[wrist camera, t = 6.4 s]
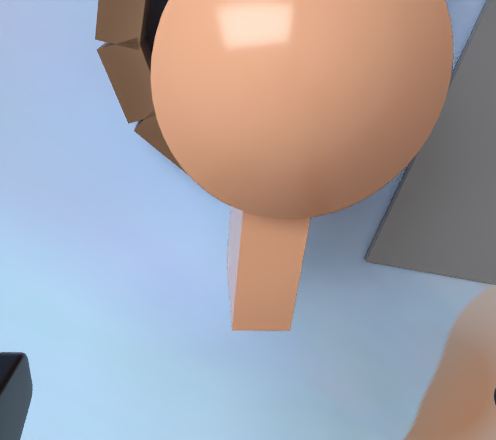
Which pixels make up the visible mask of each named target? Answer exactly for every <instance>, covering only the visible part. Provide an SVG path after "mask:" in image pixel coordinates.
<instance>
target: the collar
mask: <svg viewBox="0 0 496 440" xmlns="http://www.w3.org/2000/svg"><path fill="white" fill-rule="evenodd" d="M150 3H151V0H99V2H98V13H97V24H96V36H95V39H96V40H100V41H104V42H106V43H104V44H103V45H102V46H101V47H100V48H99V49H97V51H98V53H99V56H100V58H101V60H102V63H103V65H104V67H105V70H106V72H107V74H108V77H109V79H110V81H111V84H112V86H113V89H114V91H115V93H116V96H117V98H118V100H119V103H120V105H121V107H122V110H123V112H124V114H125V117H126V119H127V121H128V123H132V122H135V121H138V123H137V125H136V128H135V130H134V131H135V132H136V133H137V134H139V135H140V136H141V137H142V138H143V139H145V140H146V141H147V142H148V143H150V144H151V145H152V146H153V147H155V148H156V149H157V150H158V151H159V152H161V153H162V154H163V155H164V156H166V157H167V158H168V159H169V160H171V161H172V162H173V163H174V164H175V165H177V166H178V167H179V168H180V169H182V170H183V171H184V169H183V168H182V167H181V166H180V164H179V163H178V161H177V160H176V158H175V157H174V156H173V154H172V153H171V151H170V149H169V147H168V145H167V143H166V141H165V139H164V137H163V135H162V132H161V129H160V126H159V124H158V121H157V118H156V113H155V109H154V104H153V100H152V90H151V57H152V51H151V48H150V45H149V42H148V40H147V37H146V32H147V25H148V17H149V10H150ZM184 172H185V171H184ZM185 173H186V172H185Z"/></svg>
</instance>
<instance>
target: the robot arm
mask: <svg viewBox="0 0 496 440" xmlns="http://www.w3.org/2000/svg"><path fill="white" fill-rule="evenodd" d="M31 397H32V380H31V374H30V368H29V362H28V358H27V356H26V354H25V353H22V352H1V353H0V440H20V438H21V434H22V431H23V427H24V423H25V420H26V416H27V413H28V409H29V405H30V402H31ZM494 400H495V404H496V389H495V391H494Z"/></svg>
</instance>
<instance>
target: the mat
mask: <svg viewBox="0 0 496 440" xmlns="http://www.w3.org/2000/svg"><path fill="white" fill-rule="evenodd" d="M364 259H365V261H366V262H371V263H376V264H382V265H388V266H393V267H399V268H405V269H410V270H416V271H422V272H427V273H433V274H439V275H444V276H450V277H455V278H461V279H467V280H472V281H478V282H484V283H489V284H495V285H496V1H495V0H487V1H486V3H485V5H484V7H483V9H482V12H481V14H480V16H479V18H478V20H477V22H476V24H475V26H474V28H473V30H472V33H471V35H470V37H469V39H468V41H467V43H466V45H465V47H464V49H463V52H462V54H461V56H460V58H459V60H458V62H457V64H456V66H455V68H454V70H453V73H452V75H451V79H450V83H449V87H448V91H447V95H446V99H445V102H444V104H443V107H442V110H441V112H440V115H439V118H438V120H437V122H436V124H435V126H434V127H433V129H432V131H431V133H430V135H429V137H428V138H427V140H426V141H425V143H424V144H423V146H422V147H421V149H420V150H419V152H418V153H417V154H416V155H415V157H414V158H413V159H412V160H411V161H410V163H409V165H408V167H407V169H406V172H405V174H404V176H403V178H402V180H401V182H400V184H399V186H398V188H397V191H396V193H395V195H394V197H393V199H392V201H391V203H390V205H389V207H388V209H387V212H386V214H385V216H384V218H383V220H382V222H381V224H380V226H379V228H378V231H377V233H376V235H375V237H374V239H373V241H372V243H371V245H370V247H369V250H368V252H367V254H366V256H365V258H364Z"/></svg>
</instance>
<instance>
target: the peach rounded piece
mask: <svg viewBox="0 0 496 440" xmlns="http://www.w3.org/2000/svg"><path fill="white" fill-rule="evenodd" d="M452 63H453V35H452V27H451V20H450V15H449V12H448V8H447V4H446V0H168V2H167V4H166V6H165V9H164V11H163V13H162V16H161V19H160V22H159V25H158V28H157V31H156V35H155V40H154V45H153V51H152V57H151V90H152V100H153V104H154V109H155V113H156V118H157V121H158V124H159V126H160V129H161V132H162V135H163V137H164V139H165V141H166V143H167V145H168V147H169V149H170V151H171V153H172V154H173V156H174V157H175V158H176V160H177V161H178V163H179V164H180V166H181V167H182V168H183V169H184V171H185V172H186V173H187V174H188V175H189V176H190V177H191V178H192V179H193V180H194V181H195V182H196V183H197V184H198V185H199V186H201V187H202V188H203V189H204V190H205V191H206V192H208V193H209V194H211V195H212V196H214V197H215V198H217V199H218V200H220V201H222V202H224V203H226V204H228V205H230V206H231V214H230V227H229V240H228V253H227V270H228V284H229V298H230V312H231V326H232V330H252V331H290V327H291V322H292V316H293V311H294V306H295V300H296V295H297V289H298V284H299V278H300V273H301V267H302V262H303V257H304V251H305V246H306V240H307V235H308V229H309V224H310V218H311V217H316V216H321V215H325V214H329V213H333V212H336V211H338V210H341V209H344V208H347V207H349V206H351V205H353V204H355V203H358V202H360V201H362V200H364V199H366V198H367V197H369V196H370V195H372V194H373V193H375V192H377V191H378V190H380V189H381V188H382V187H384V186H385V185H386V184H387V183H389V182H390V181H391V180H392V179H394V178H395V177H396V176H397V175H398V174H399V173H400V172H401V171H402V170H403V169H404V168H405V167H406V166H407V165H408V164H409V163H410V161H411V160H412V159H413V158H414V157H415V155H416V154H417V153H418V152H419V150H420V149H421V147H422V146H423V144H424V143H425V141H426V140H427V138H428V137H429V135H430V133H431V131H432V129H433V127H434V126H435V124H436V122H437V120H438V118H439V115H440V112H441V110H442V107H443V104H444V102H445V99H446V95H447V91H448V87H449V83H450V79H451V71H452Z"/></svg>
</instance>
